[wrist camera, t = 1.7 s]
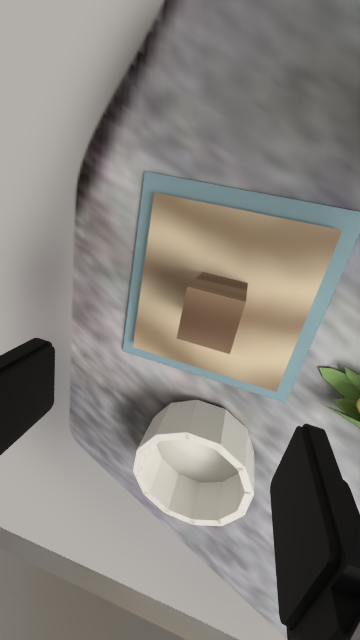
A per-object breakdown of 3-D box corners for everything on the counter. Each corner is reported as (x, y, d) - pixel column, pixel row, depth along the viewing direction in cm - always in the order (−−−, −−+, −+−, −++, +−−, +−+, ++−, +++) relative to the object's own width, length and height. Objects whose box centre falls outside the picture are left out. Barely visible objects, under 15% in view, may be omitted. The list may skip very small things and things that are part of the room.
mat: (146, 172, 23) (144, 171, 23) (366, 213, 20) (368, 213, 20) (124, 349, 30) (122, 351, 30) (285, 400, 27) (285, 402, 27)
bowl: (161, 384, 30) (142, 416, 25) (266, 419, 28) (268, 461, 23) (146, 458, 35) (128, 497, 30) (236, 493, 33) (232, 541, 28)
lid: (158, 193, 23) (121, 182, 17) (338, 229, 21) (376, 232, 14) (136, 343, 29) (103, 377, 22) (275, 386, 26) (282, 438, 20)
